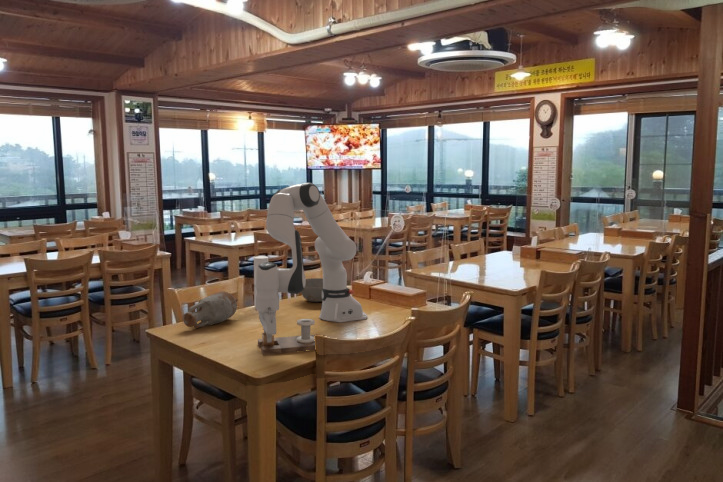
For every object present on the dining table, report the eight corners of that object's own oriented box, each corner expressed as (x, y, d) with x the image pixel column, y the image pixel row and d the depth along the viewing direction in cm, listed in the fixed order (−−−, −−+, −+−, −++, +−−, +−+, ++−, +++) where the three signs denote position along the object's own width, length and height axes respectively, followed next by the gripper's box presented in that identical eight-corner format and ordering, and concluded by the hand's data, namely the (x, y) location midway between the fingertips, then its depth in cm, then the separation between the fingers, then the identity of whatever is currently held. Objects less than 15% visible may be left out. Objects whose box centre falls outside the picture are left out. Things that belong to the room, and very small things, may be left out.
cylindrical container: (265, 308, 287) (265, 258, 284) (252, 307, 289) (251, 258, 285) (270, 305, 294) (270, 256, 291) (257, 304, 295) (257, 255, 292)
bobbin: (312, 337, 234) (312, 318, 233) (316, 342, 227) (316, 322, 226) (295, 338, 231) (295, 319, 230) (298, 344, 225) (298, 324, 224)
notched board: (316, 339, 238) (316, 334, 238) (324, 349, 225) (324, 344, 224) (257, 343, 231) (257, 339, 230) (262, 354, 217) (262, 349, 217)
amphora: (248, 290, 269) (197, 289, 244) (248, 325, 267) (197, 328, 242) (227, 292, 276) (176, 291, 251) (227, 326, 274) (175, 328, 249)
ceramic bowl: (343, 297, 314) (343, 279, 312) (331, 307, 292) (331, 287, 290) (304, 294, 319) (304, 276, 317) (289, 304, 296) (289, 285, 295)
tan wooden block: (272, 347, 228) (272, 332, 227) (273, 350, 224) (273, 335, 223) (262, 347, 226) (262, 333, 226) (263, 351, 223) (263, 335, 222)
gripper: (280, 311, 214) (280, 347, 216) (271, 298, 233) (271, 331, 235) (263, 312, 212) (263, 348, 214) (255, 299, 231) (256, 333, 233)
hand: (267, 339), depth 225 cm, fingers open, 5 cm apart
